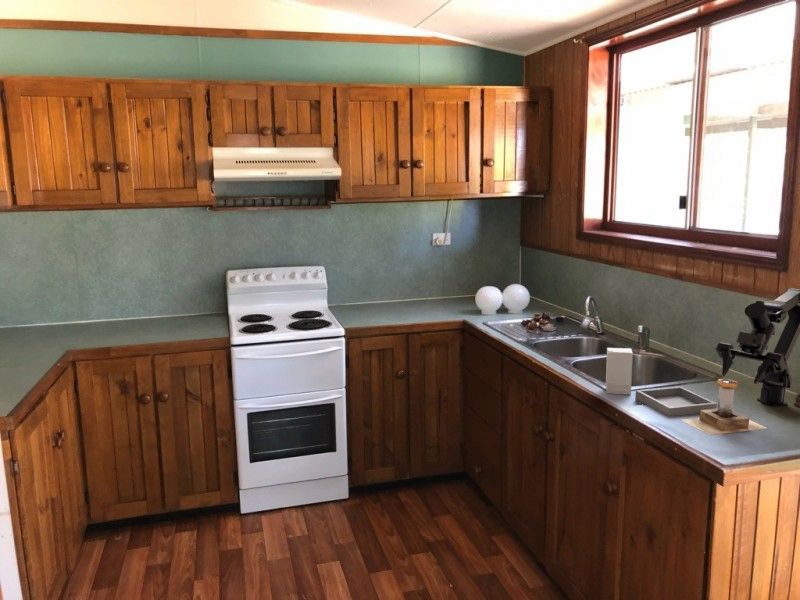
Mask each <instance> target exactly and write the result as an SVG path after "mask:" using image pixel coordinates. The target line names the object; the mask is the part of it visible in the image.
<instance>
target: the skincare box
mask: <svg viewBox="0 0 800 600" xmlns="http://www.w3.org/2000/svg"><path fill="white" fill-rule="evenodd" d="M633 357H634V353H633V350H632V348H631V347H630V348H628V347H627V348H626V347H625V348H624V347H606V363H605V364H606V367H605V368H606V369H605V391H606V394H616V395H617V394H618V395H631V394H632V378H633V377H632V376H633V359H634V358H633Z"/></svg>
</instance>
